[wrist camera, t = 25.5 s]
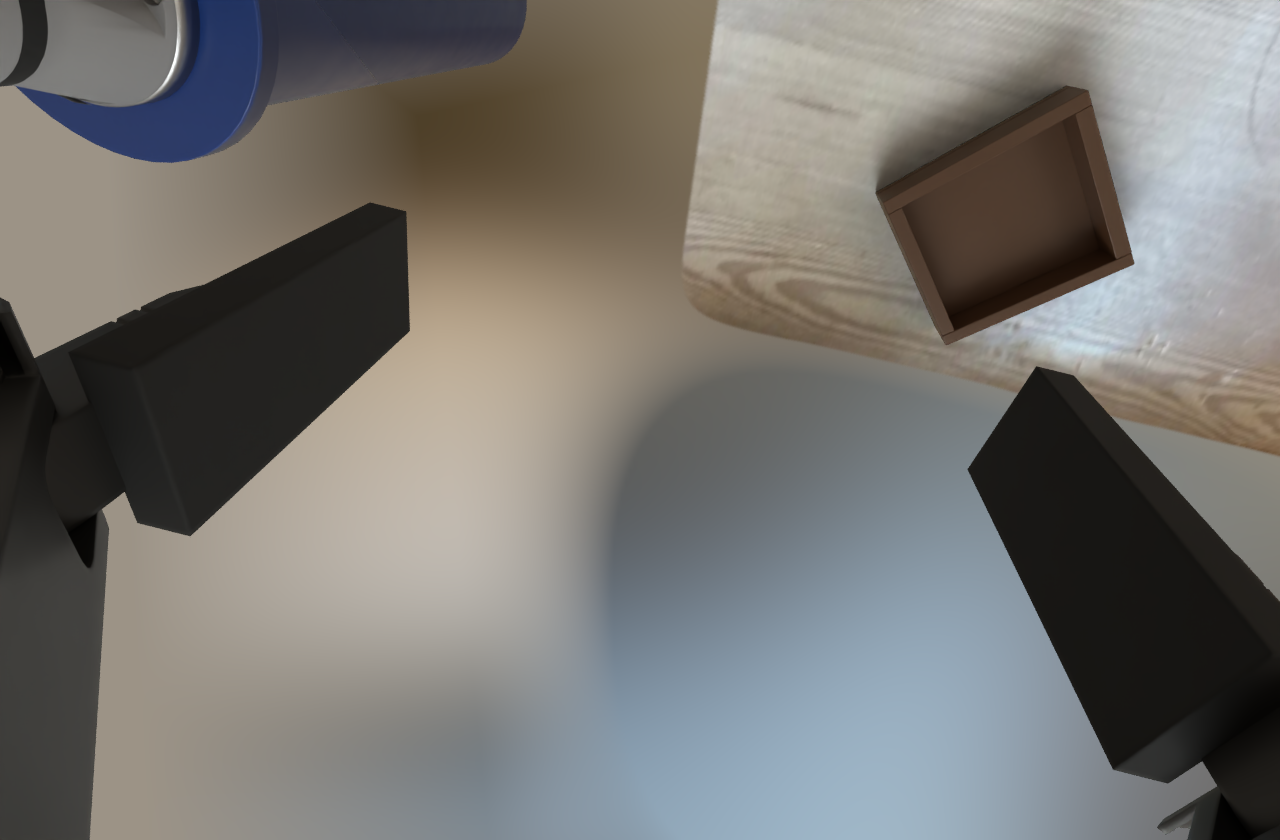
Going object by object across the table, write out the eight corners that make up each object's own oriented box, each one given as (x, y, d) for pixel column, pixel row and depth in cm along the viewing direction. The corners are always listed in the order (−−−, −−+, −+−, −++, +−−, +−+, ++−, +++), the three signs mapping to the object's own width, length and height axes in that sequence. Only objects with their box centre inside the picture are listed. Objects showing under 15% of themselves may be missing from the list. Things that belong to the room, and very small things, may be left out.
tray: (875, 192, 37) (882, 202, 35) (1067, 84, 33) (1088, 89, 31) (936, 329, 41) (946, 345, 39) (1113, 250, 37) (1135, 264, 35)
